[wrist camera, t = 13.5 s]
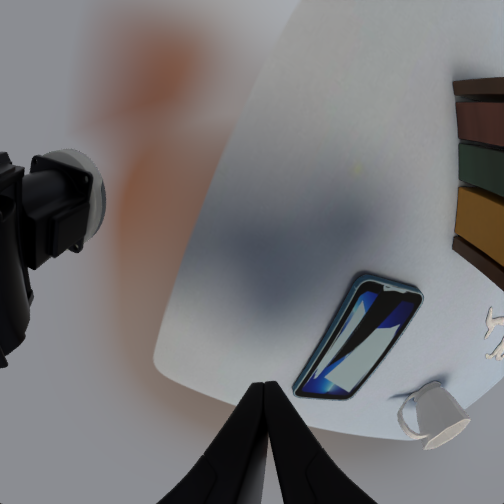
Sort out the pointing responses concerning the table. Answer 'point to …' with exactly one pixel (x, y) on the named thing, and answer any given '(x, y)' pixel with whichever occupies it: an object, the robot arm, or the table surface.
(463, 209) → the ochre book
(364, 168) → the table surface
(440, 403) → the cup
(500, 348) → the tree stump
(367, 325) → the smartphone
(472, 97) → the bookshelf
